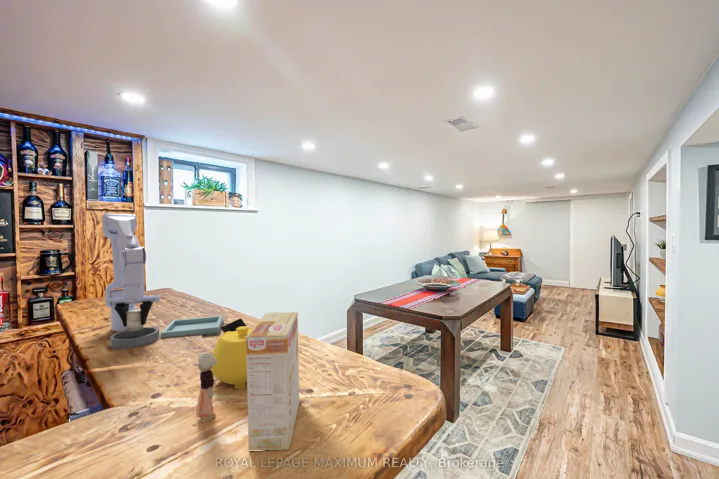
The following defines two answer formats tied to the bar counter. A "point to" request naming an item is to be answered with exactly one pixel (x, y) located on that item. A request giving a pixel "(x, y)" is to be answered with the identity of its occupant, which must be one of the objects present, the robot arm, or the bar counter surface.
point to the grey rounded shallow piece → (134, 338)
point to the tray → (193, 327)
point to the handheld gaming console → (233, 326)
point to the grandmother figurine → (206, 387)
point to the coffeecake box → (272, 381)
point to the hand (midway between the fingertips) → (135, 325)
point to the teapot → (231, 357)
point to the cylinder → (134, 320)
